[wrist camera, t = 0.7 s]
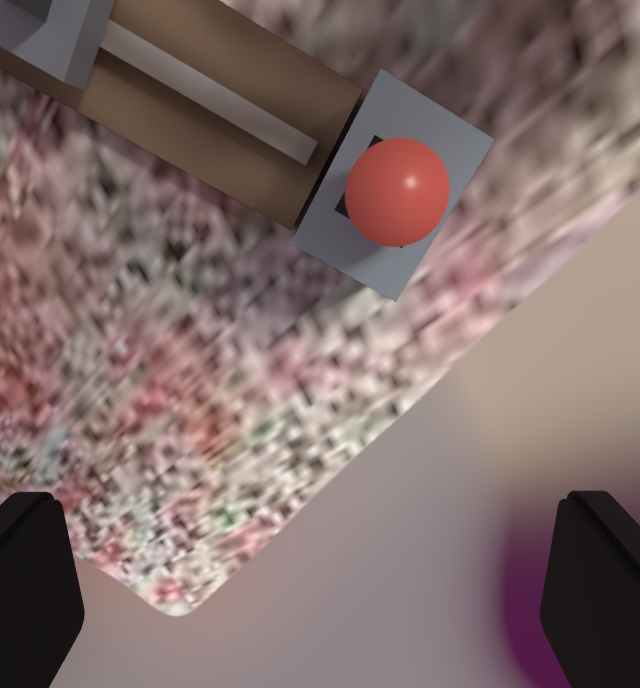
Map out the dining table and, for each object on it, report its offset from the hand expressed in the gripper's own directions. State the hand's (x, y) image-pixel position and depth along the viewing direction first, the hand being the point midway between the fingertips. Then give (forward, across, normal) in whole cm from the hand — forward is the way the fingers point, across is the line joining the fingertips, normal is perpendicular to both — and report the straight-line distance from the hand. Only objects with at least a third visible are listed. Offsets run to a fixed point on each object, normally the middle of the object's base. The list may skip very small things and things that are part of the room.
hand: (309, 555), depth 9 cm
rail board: (+28, +10, -14) cm, 33 cm away
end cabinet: (+28, -4, -6) cm, 29 cm away
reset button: (+20, -4, -6) cm, 22 cm away
